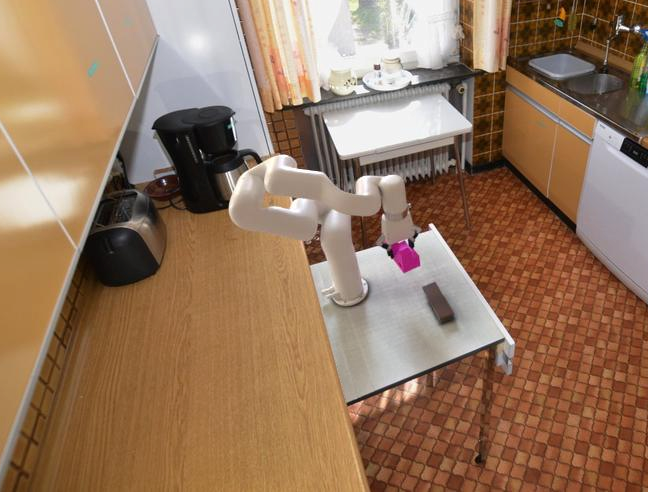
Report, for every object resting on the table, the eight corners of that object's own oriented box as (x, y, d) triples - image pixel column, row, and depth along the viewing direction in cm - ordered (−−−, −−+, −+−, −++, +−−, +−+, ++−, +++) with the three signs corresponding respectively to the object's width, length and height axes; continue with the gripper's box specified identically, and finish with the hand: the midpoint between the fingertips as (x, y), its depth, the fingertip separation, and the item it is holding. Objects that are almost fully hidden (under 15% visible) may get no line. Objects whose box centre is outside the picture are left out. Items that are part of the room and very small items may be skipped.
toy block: (420, 265, 145) (418, 249, 141) (403, 273, 143) (401, 256, 139) (399, 240, 156) (397, 224, 152) (384, 247, 154) (381, 230, 150)
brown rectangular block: (422, 291, 153) (422, 286, 151) (435, 286, 154) (435, 281, 153) (440, 324, 141) (439, 318, 139) (454, 318, 142) (454, 313, 141)
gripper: (416, 197, 145) (420, 238, 154) (366, 213, 139) (373, 254, 149) (425, 209, 139) (429, 251, 149) (373, 226, 133) (380, 268, 143)
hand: (401, 252), depth 149 cm, fingers closed on toy block, 6 cm apart
